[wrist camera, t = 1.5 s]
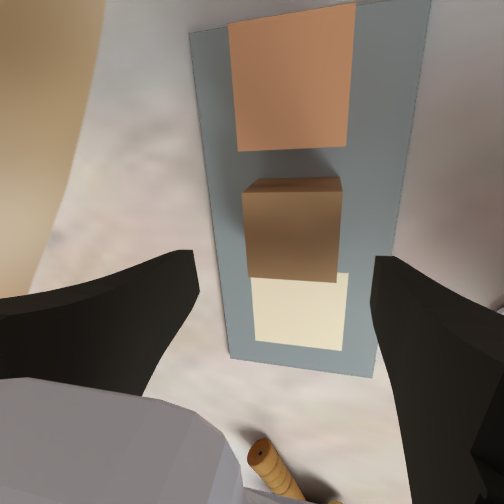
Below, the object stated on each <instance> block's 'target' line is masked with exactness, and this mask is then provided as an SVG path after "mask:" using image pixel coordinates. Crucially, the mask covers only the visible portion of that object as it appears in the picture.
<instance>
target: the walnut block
mask: <svg viewBox="0 0 504 504" xmlns="http://www.w3.org/2000/svg"><path fill="white" fill-rule="evenodd" d="M241 194H242V207H243V219H244V232H245V244H246V257H247V269H248V277H252V278H267V279H282V280H298V281H313V282H328V283H337V269H338V255H339V240H340V226H341V212H342V198H343V190H342V185H341V181H340V177H308V178H265V179H257V180H256V181H255V182H254V183H252V184H251V185H250V186H249V187H248V188H247V189H245V190H244V191H243V192H242V193H241Z"/></svg>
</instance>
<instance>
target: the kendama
mask: <svg viewBox="0 0 504 504" xmlns="http://www.w3.org/2000/svg"><path fill="white" fill-rule="evenodd" d="M247 462H248V464H249V465H250V467H251V468H252V469H253V470H254V471H255V472H256V473H257V474H258V475H259V476H260V477H261V478H262V480H264V482H265V483H266V484H267V485H268V486H269V487H270V489H271V490H272V491H273V492H274V493H275V494H277V495H281V496H285V497H290V498H294V499H298V500H303V501H306V499H305V498H304V496H303V494H302V492H301V490H300V488H299V487H298V485H297V483H296V482H295V480H294V479H293V477H292V476H291V474H290V473H289V471H288V470H287V468H286V467H285V465H284V463H283V462H282V460H281V458H280V457H279V455H278V454H277V452H276V451H275V449H274V447H273V445H272V444H271V442H270V441H269V440H268V439H261V440H258V441H257V442H256V443H255V444H254V445H253V446H252V447H251V449H250V450H249V453H248V456H247ZM328 504H343V503H341V502H338V501H330V502H328Z"/></svg>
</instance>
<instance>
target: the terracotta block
mask: <svg viewBox="0 0 504 504" xmlns="http://www.w3.org/2000/svg"><path fill="white" fill-rule="evenodd" d="M355 12H356V2H354V3H348V4H342V5H336V6H330V7H324V8H318V9H312V10H306V11H300V12H294V13H288V14H282V15H276V16H270V17H264V18H258V19H252V20H246V21H240V22H234V23H228V33H229V45H230V58H231V70H232V83H233V95H234V107H235V120H236V132H237V145H238V152H241V151H261V150H282V149H303V148H323V147H344V146H346V140H347V126H348V112H349V98H350V83H351V69H352V55H353V41H354V26H355Z"/></svg>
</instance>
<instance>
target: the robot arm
mask: <svg viewBox="0 0 504 504" xmlns="http://www.w3.org/2000/svg"><path fill="white" fill-rule="evenodd" d="M199 292H200V289H199V283H198V277H197V271H196V266H195V260H194V254H193V250H176V251H172V252H169V253H166V254H164V255H161V256H158V257H156V258H153V259H151V260H148V261H146V262H143V263H141V264H138V265H136V266H133V267H130V268H128V269H125V270H122V271H120V272H117V273H114V274H111V275H108V276H105V277H102V278H99V279H96V280H92V281H89V282H85V283H81V284H78V285H73V286H69V287H64V288H60V289H56V290H51V291H46V292H41V293H35V294H29V295H23V296H17V297H9V298H2V299H0V504H316V503H311V502H307V501H303V500H298V499H294V498H290V497H285V496H281V495H277V494H272V493H268V492H264V491H259V490H255V489H251V488H246V487H243V481H242V475H241V468H240V464H239V462H238V460H237V459H236V457H235V455H234V453H233V451H232V449H231V447H230V446H229V444H228V442H227V440H226V438H225V436H224V434H223V433H222V432H221V431H220V430H218V429H217V428H216V427H214V426H213V425H212V424H211V423H209V422H208V421H207V420H205V419H204V418H203V417H201V416H200V415H199V414H197V413H196V412H195V411H192V410H189V409H186V408H183V407H180V406H178V405H175V404H172V403H169V402H166V401H163V400H160V399H154V398H148V397H142V395H143V392H144V390H145V388H146V386H147V384H148V382H149V380H150V378H151V376H152V374H153V372H154V370H155V368H156V366H157V364H158V362H159V360H160V359H161V357H162V355H163V354H164V352H165V350H166V349H167V347H168V346H169V344H170V343H171V341H172V340H173V338H174V337H175V335H176V334H177V332H178V331H179V329H180V328H181V326H182V324H183V323H184V321H185V320H186V318H187V317H188V315H189V313H190V312H191V310H192V308H193V306H194V304H195V302H196V299H197V297H198V295H199ZM370 309H371V316H372V322H373V327H374V330H375V334H376V337H377V340H378V343H379V347H380V350H381V353H382V356H383V359H384V363H385V366H386V369H387V372H388V375H389V379H390V382H391V386H392V390H393V395H394V400H395V405H396V410H397V415H398V420H399V426H400V431H401V437H402V443H403V448H404V454H405V460H406V466H407V473H408V479H409V485H410V491H411V498H412V504H504V307H503V308H501V309H499V310H498V311H497V312H495V311H493V310H490V309H488V308H486V307H484V306H482V305H479V304H477V303H475V302H473V301H471V300H469V299H467V298H465V297H463V296H461V295H459V294H457V293H455V292H453V291H452V290H450V289H448V288H446V287H444V286H442V285H441V284H439V283H437V282H436V281H434V280H432V279H431V278H429V277H427V276H426V275H424V274H423V273H421V272H419V271H418V270H416V269H415V268H413V267H412V266H410V265H408V264H407V263H405V262H404V261H402V260H400V259H399V258H397V257H395V256H375V263H374V271H373V279H372V287H371V295H370Z"/></svg>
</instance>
